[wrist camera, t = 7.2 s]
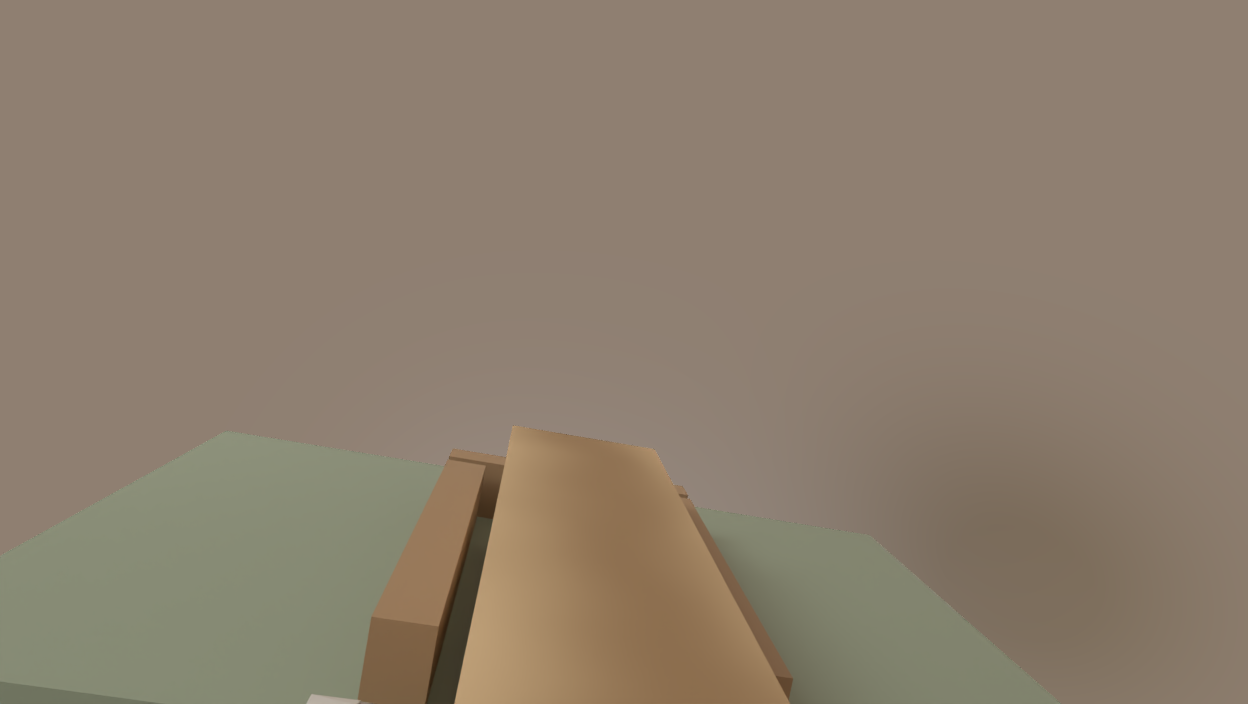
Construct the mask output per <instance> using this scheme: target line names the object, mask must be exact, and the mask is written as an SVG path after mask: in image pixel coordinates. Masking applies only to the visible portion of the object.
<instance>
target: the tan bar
mask: <svg viewBox="0 0 1248 704" xmlns="http://www.w3.org/2000/svg"><path fill="white" fill-rule="evenodd" d="M454 704H790V702H789V701H788V699H787V697H786V695H785V693H784V691H783V689H782V687H781V686H780V684H779V682H778V680H777V678H776V676H775V674H774V672H773V671H772V669H771V667H770V665H769V663H768V661H767V659H766V657H765V656H764V654H763V652H762V650H761V648H760V646H759V644H758V642H757V641H756V639H755V637H754V635H753V633H752V631H751V629H750V627H749V626H748V624H747V622H746V620H745V618H744V616H743V614H742V612H741V611H740V609H739V607H738V605H737V603H736V601H735V599H734V597H733V596H732V594H731V592H730V590H729V588H728V586H727V584H726V582H725V581H724V579H723V577H722V575H721V573H720V571H719V569H718V567H717V566H716V564H715V562H714V560H713V558H712V556H711V554H710V552H709V551H708V549H707V547H706V545H705V543H704V541H703V539H702V537H701V536H700V534H699V532H698V530H697V528H696V526H695V524H694V522H693V521H692V519H691V517H690V515H689V513H688V511H687V509H686V507H685V506H684V504H683V502H682V500H681V498H680V496H679V494H678V492H677V491H676V489H675V487H674V485H673V483H672V481H671V479H670V477H669V476H668V474H667V472H666V470H665V468H664V466H663V464H662V463H661V461H660V459H659V457H658V455H657V453H656V451H655V450H654V449H650V448H644V447H638V446H632V445H626V444H620V443H614V442H608V441H602V440H596V439H590V438H584V437H579V436H572V435H567V434H561V433H555V432H549V431H543V430H537V429H531V428H525V427H519V426H513V428H512V432H511V437H510V442H509V446H508V451H507V456H506V461H505V465H504V470H503V475H502V480H501V484H500V489H499V494H498V499H497V503H496V508H495V513H494V518H493V522H492V527H491V532H490V537H489V541H488V546H487V551H486V556H485V560H484V565H483V570H482V575H481V579H480V584H479V589H478V594H477V598H476V603H475V608H474V613H473V617H472V622H471V627H470V631H469V636H468V641H467V646H466V650H465V655H464V660H463V665H462V669H461V674H460V679H459V684H458V688H457V693H456V698H455V703H454Z"/></svg>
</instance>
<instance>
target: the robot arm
mask: <svg viewBox="0 0 1248 704" xmlns="http://www.w3.org/2000/svg"><path fill="white" fill-rule="evenodd" d="M306 704H375V703H368V702H362V701H361V700H354V699H346V698H338V697H330V696H322V695H314V694H311V696H310V698H309V700H308V702H307V703H306Z"/></svg>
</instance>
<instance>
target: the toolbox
mask: <svg viewBox="0 0 1248 704" xmlns="http://www.w3.org/2000/svg"><path fill="white" fill-rule="evenodd" d="M505 461H506V457H501V456H494V455H489V454H483V453H476V452H470V451H464V450H458V449H453V450H452V452H451V454H450V456H449V460H447V462H446V464H445V466H440V465H433V464H428V463H421V462H415V461H409V460H403V459H397V458H391V457H384V456H378V455H372V454H365V453H360V452H354V451H347V450H341V449H335V448H329V447H322V446H317V445H310V444H304V443H298V442H292V441H286V440H280V439H274V438H267V437H261V436H255V435H249V434H242V433H237V432H230V431H225V432H223V433H221V434H220V435H218V436H216V437H214V438H212V439H211V440H209V441H207V442H205V443H204V444H202V445H200V446H198V447H196V448H194V449H193V450H191V451H189V452H187V453H185V454H183V455H182V456H180V457H178V458H176V459H174V460H173V461H171V462H169V463H167V464H165V465H164V466H162V467H160V468H158V469H156V470H155V471H153V472H151V473H149V474H147V475H146V476H144V477H142V478H140V479H138V480H136V481H135V482H133V483H131V484H129V485H127V486H126V487H124V488H122V489H120V490H118V491H117V492H115V493H113V494H111V495H109V496H108V497H106V498H104V499H102V500H100V501H99V502H97V503H95V504H93V505H91V506H89V507H88V508H86V509H84V510H82V511H80V512H79V513H77V514H75V515H73V516H71V517H70V518H68V519H66V520H64V521H63V522H61V523H59V524H57V525H55V526H53V527H52V528H50V529H48V530H46V531H44V532H42V533H41V534H39V535H37V536H35V537H34V538H32V539H30V540H28V541H26V542H24V543H23V544H21V545H19V546H17V547H15V548H14V549H12V550H10V551H8V552H6V553H5V554H3V555H1V556H0V704H306V703H307V702H308V700H309V698H310V696H311V694H314V695H322V696H330V697H338V698H346V699H354V700H361V701H362V702H368V703H375V704H454V703H455V698H456V693H457V688H458V684H459V679H460V674H461V669H462V665H463V660H464V655H465V650H466V646H467V641H468V636H469V631H470V627H471V622H472V617H473V613H474V608H475V603H476V598H477V594H478V589H479V584H480V579H481V575H482V570H483V565H484V560H485V556H486V551H487V546H488V541H489V537H490V532H491V527H492V522H493V518H494V513H495V508H496V503H497V499H498V494H499V489H500V484H501V480H502V475H503V470H504V465H505ZM674 487H675V489H676V491H677V492H678V494H679V496H680V498H681V500H682V502H683V504H684V506H685V507H686V509H687V511H688V513H689V515H690V517H691V519H692V521H693V522H694V524H695V526H696V528H697V530H698V532H699V534H700V536H701V537H702V539H703V541H704V543H705V545H706V547H707V549H708V551H709V552H710V554H711V556H712V558H713V560H714V562H715V564H716V566H717V567H718V569H719V571H720V573H721V575H722V577H723V579H724V581H725V582H726V584H727V586H728V588H729V590H730V592H731V594H732V596H733V597H734V599H735V601H736V603H737V605H738V607H739V609H740V611H741V612H742V614H743V616H744V618H745V620H746V622H747V624H748V626H749V627H750V629H751V631H752V633H753V635H754V637H755V639H756V641H757V642H758V644H759V646H760V648H761V650H762V652H763V654H764V656H765V657H766V659H767V661H768V663H769V665H770V667H771V669H772V671H773V672H774V674H775V676H776V678H777V680H778V682H779V684H780V686H781V687H782V689H783V691H784V693H785V695H786V697H787V699H788V701H789V702H790V704H1061V703H1060V702H1059V701H1057V700H1056V699H1055V698H1054V697H1053V696H1052V695H1051V694H1050V693H1048V692H1047V691H1046V690H1045V689H1044V688H1043V687H1042V686H1040V685H1039V684H1038V683H1037V682H1036V681H1035V680H1034V679H1033V678H1031V677H1030V676H1029V675H1028V674H1027V673H1026V672H1025V671H1023V670H1022V669H1021V668H1020V667H1019V666H1018V665H1016V664H1015V663H1014V662H1013V661H1012V660H1011V659H1010V658H1009V657H1008V656H1006V655H1005V654H1004V653H1003V652H1002V651H1001V650H999V649H998V648H997V647H996V646H995V645H994V644H993V643H992V642H990V641H989V640H988V639H987V638H986V637H985V636H984V635H982V634H981V633H980V632H979V631H978V630H977V629H976V628H974V627H973V626H972V625H971V624H970V623H969V622H968V621H967V620H965V619H964V618H963V617H962V616H961V615H960V614H959V613H957V612H956V611H955V610H954V609H953V608H952V607H951V606H950V605H948V604H947V603H946V602H945V601H944V600H943V599H942V598H940V597H939V596H938V595H937V594H936V593H935V592H934V591H932V590H931V589H930V588H929V587H928V586H927V585H926V584H924V583H923V582H922V581H921V580H920V579H919V578H918V577H917V576H915V575H914V574H913V573H912V572H911V571H910V570H909V569H907V568H906V567H905V566H904V565H903V564H902V563H901V562H899V561H898V560H897V559H896V558H895V557H894V556H893V555H892V554H890V553H889V552H888V551H887V550H886V549H885V548H884V547H882V546H881V545H880V544H879V543H878V542H877V541H876V540H874V539H873V538H872V537H871V536H870V535H864V534H858V533H852V532H846V531H840V530H834V529H828V528H822V527H816V526H809V525H803V524H797V523H791V522H784V521H779V520H772V519H766V518H759V517H753V516H747V515H742V514H735V513H729V512H723V511H717V510H711V509H704V508H698V507H694V505H693V504H692V502H691V500H690V499H687V497H688V495H687V493H686V491H685V489H684V488H683V487H682V486H678V485H674Z"/></svg>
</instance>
